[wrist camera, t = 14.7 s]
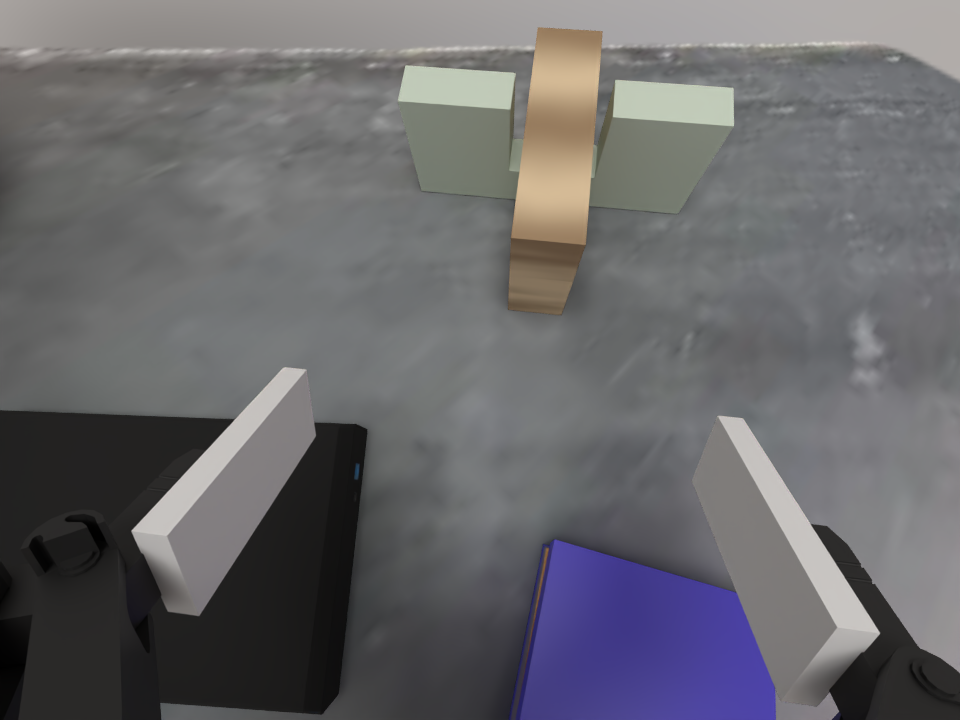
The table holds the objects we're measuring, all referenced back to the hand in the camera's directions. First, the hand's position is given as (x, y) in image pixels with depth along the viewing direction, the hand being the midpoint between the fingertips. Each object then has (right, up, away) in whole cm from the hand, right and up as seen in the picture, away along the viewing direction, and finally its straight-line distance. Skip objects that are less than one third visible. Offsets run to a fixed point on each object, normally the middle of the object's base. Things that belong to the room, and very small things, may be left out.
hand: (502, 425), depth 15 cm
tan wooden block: (+4, +12, +17) cm, 21 cm away
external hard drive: (-20, -9, +13) cm, 25 cm away
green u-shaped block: (+4, +14, +18) cm, 23 cm away
